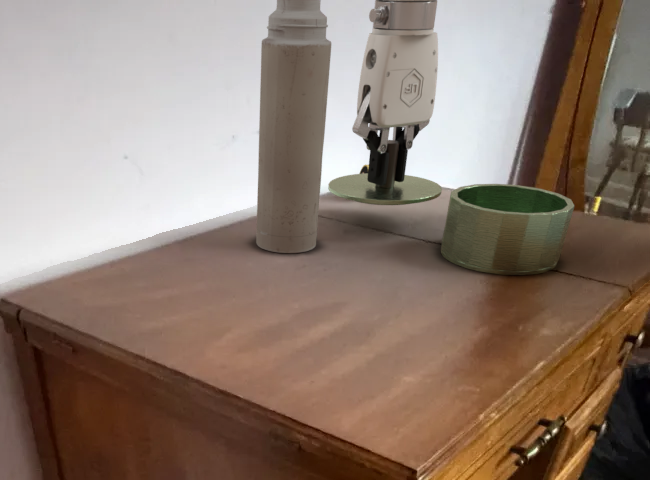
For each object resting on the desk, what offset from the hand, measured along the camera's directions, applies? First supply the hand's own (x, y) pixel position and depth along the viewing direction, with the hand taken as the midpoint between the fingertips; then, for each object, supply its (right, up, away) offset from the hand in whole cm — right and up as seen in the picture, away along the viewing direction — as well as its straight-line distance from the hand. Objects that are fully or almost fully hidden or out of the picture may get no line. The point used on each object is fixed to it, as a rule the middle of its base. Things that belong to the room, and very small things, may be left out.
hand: (385, 180), depth 100 cm
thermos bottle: (-14, -11, -4) cm, 18 cm away
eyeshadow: (+1, +4, +15) cm, 15 cm away
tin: (+13, -13, -7) cm, 20 cm away
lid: (0, -1, +1) cm, 1 cm away
